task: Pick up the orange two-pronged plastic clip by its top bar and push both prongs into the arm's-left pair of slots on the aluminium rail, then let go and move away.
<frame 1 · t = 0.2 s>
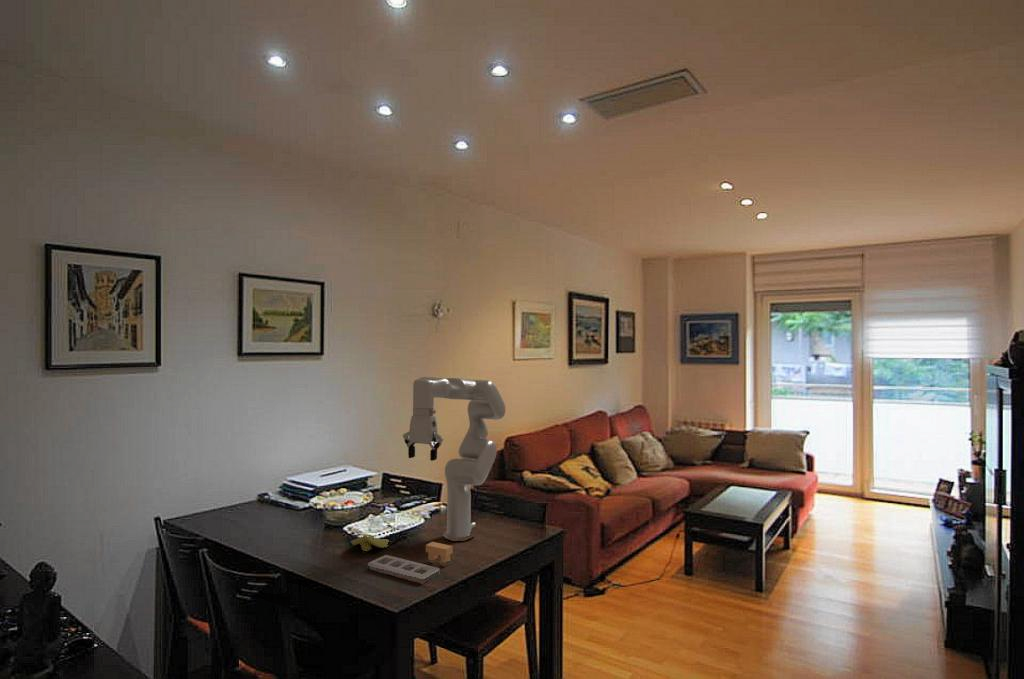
hand: (422, 458, 223), 36 cm above the table, tool pointing down, fingers open, 9 cm apart
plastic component: (372, 547, 233), on the table
clip: (439, 563, 215), on the table
rail: (403, 572, 207), on the table
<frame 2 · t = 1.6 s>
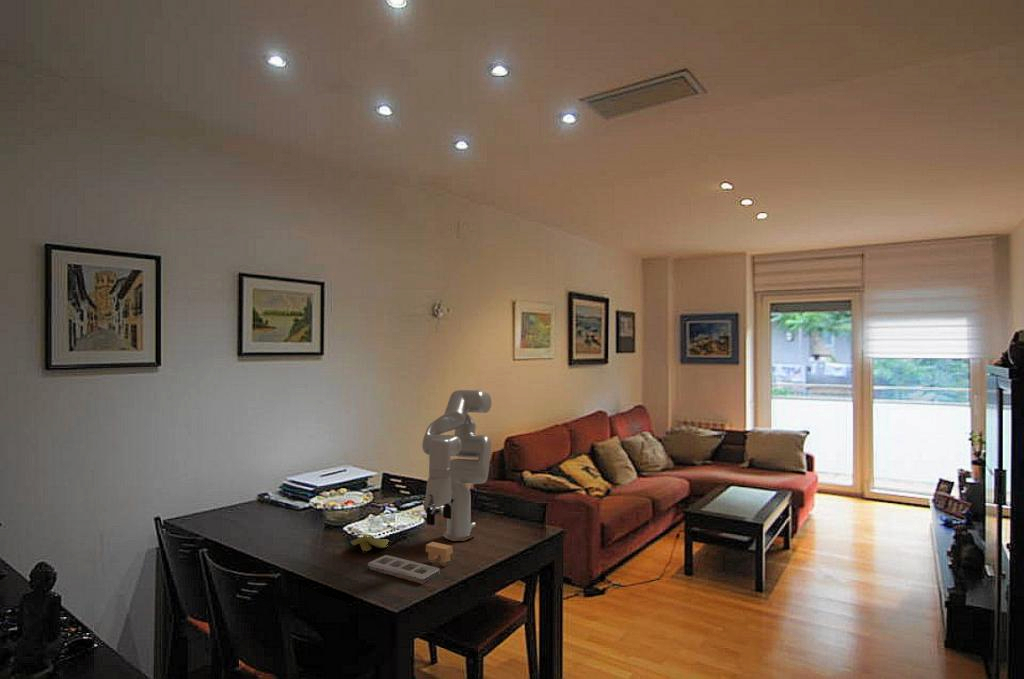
hand: (439, 521, 215), 15 cm above the table, tool pointing down, fingers open, 9 cm apart
nothing on the table moved.
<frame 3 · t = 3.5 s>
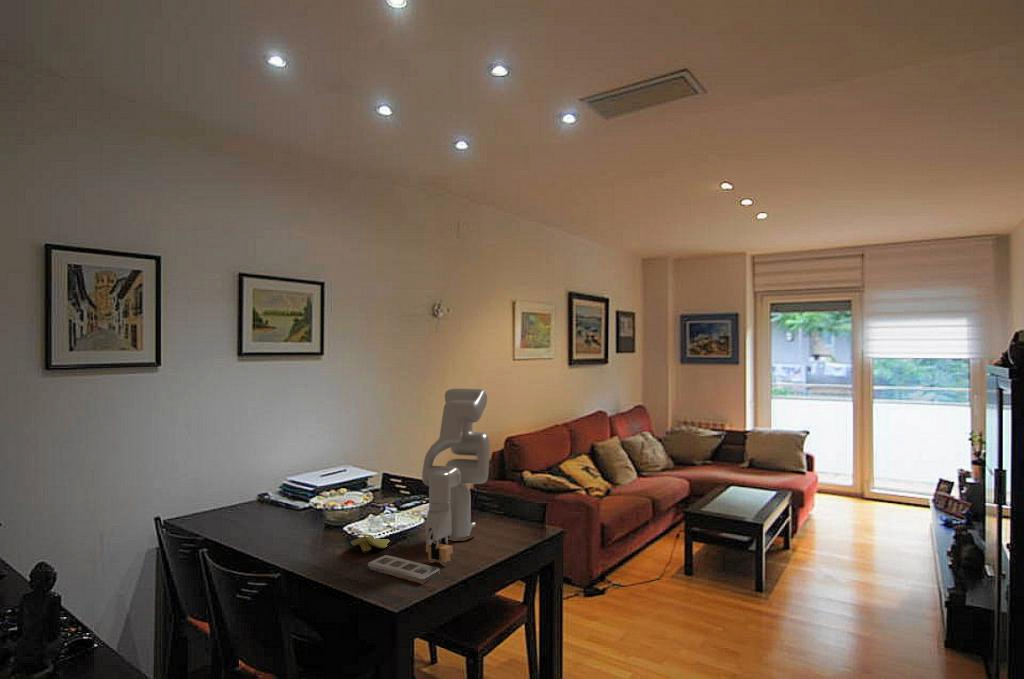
hand: (439, 556, 215), 2 cm above the table, tool pointing down, fingers closed on clip, 4 cm apart
clip: (439, 563, 215), on the table, touching gripper
everything else where it was.
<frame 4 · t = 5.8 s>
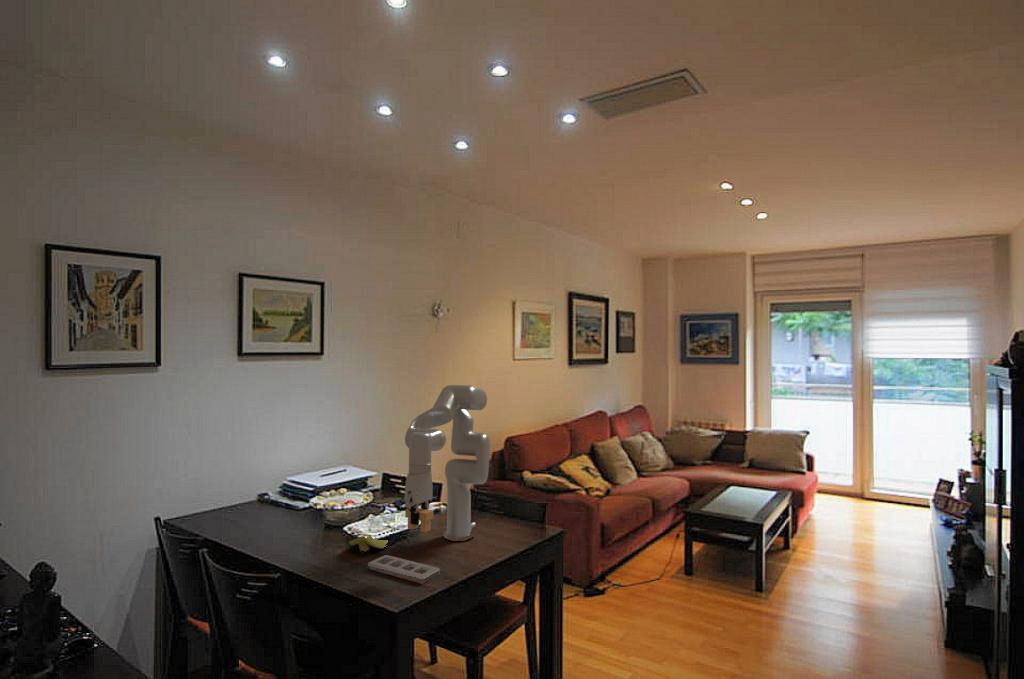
hand: (419, 522, 205), 18 cm above the table, tool pointing down, fingers closed on clip, 3 cm apart
clip: (419, 529, 205), point 15 cm above the table, touching gripper
everything else where it was.
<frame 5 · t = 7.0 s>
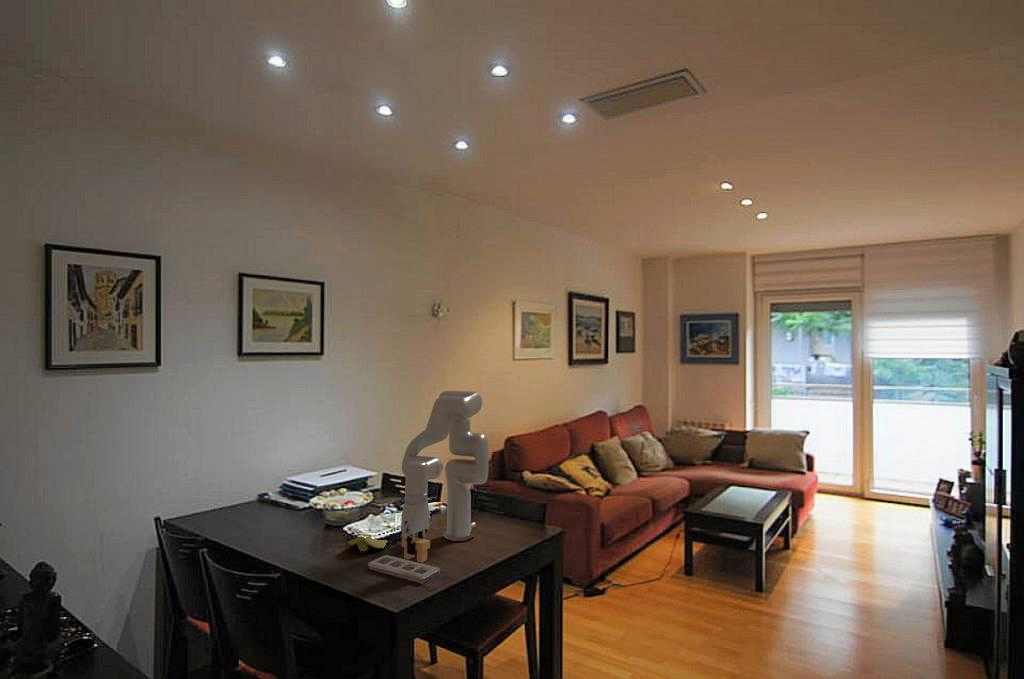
hand: (415, 551, 204), 8 cm above the table, tool pointing down, fingers closed on clip, 3 cm apart
clip: (415, 558, 204), point 6 cm above the table, touching gripper
everything else where it was.
when the fingers open (4 cm above the table, at t = 8.2 s): clip stays where it is, point 1 cm above the table.
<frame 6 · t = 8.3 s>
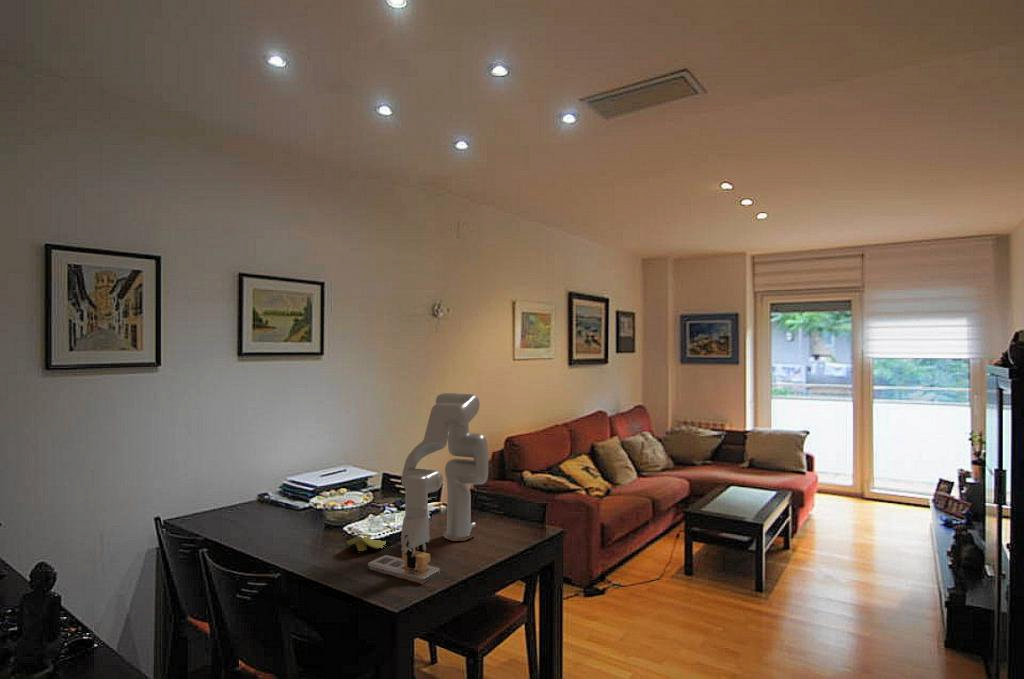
hand: (416, 564, 204), 4 cm above the table, tool pointing down, fingers open, 4 cm apart
clip: (416, 572, 204), point 1 cm above the table
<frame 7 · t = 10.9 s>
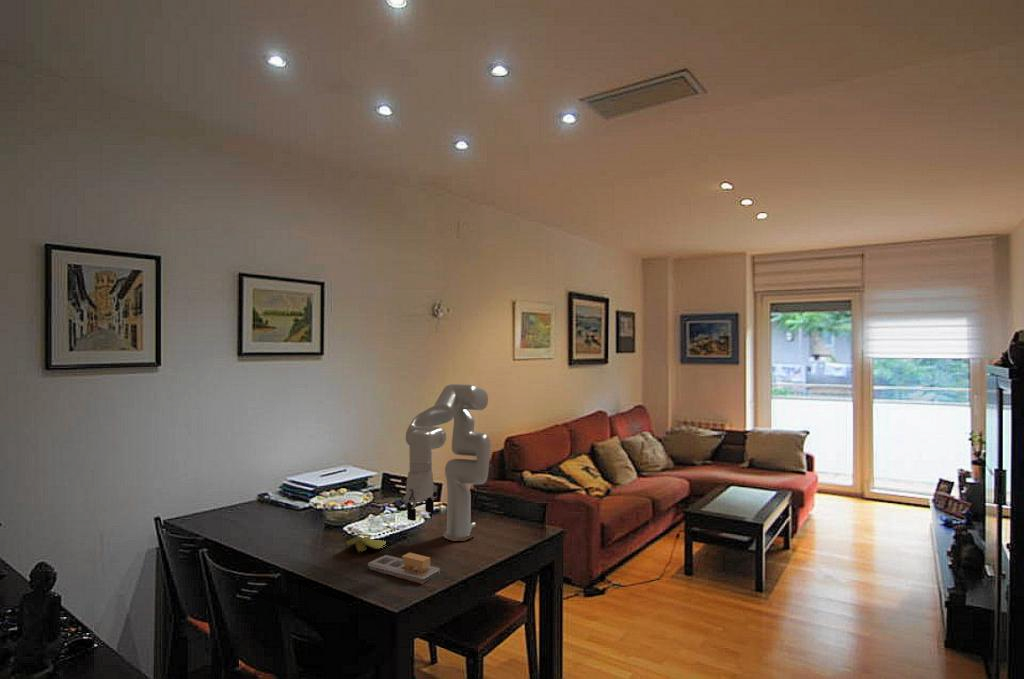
hand: (420, 516, 208), 19 cm above the table, tool pointing down, fingers open, 9 cm apart
clip: (416, 575, 204), resting in rail
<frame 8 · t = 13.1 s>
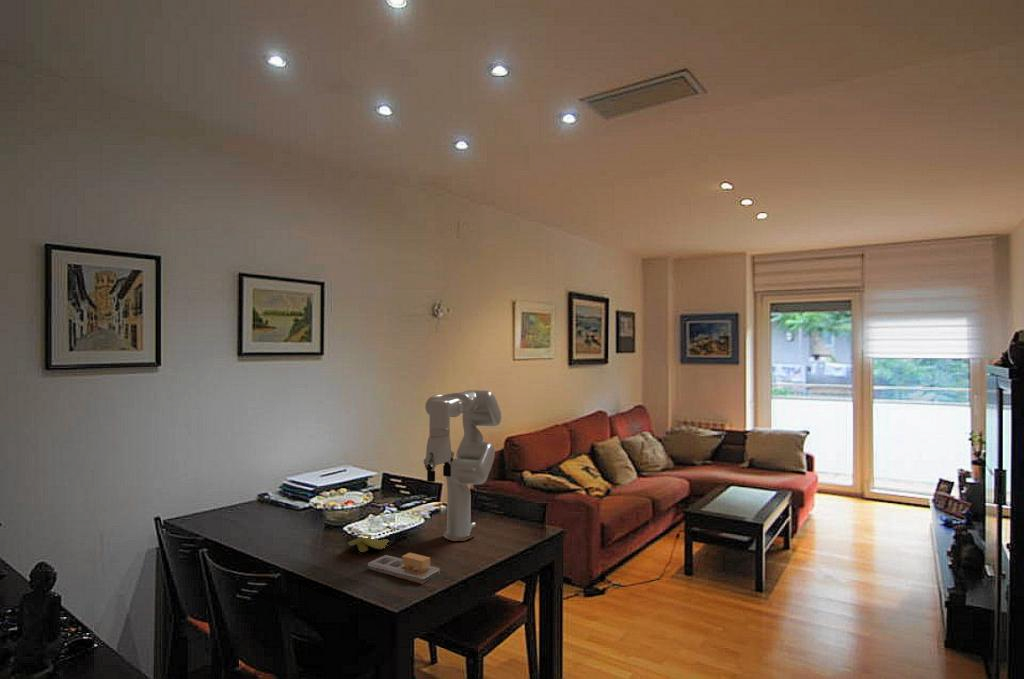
hand: (439, 478, 224), 28 cm above the table, tool pointing down, fingers open, 9 cm apart
at the end: clip 0.0 cm from the target spot on the rail, point 0.0 cm above the rail's base; clip tilted 0°; the gripper is holding nothing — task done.
